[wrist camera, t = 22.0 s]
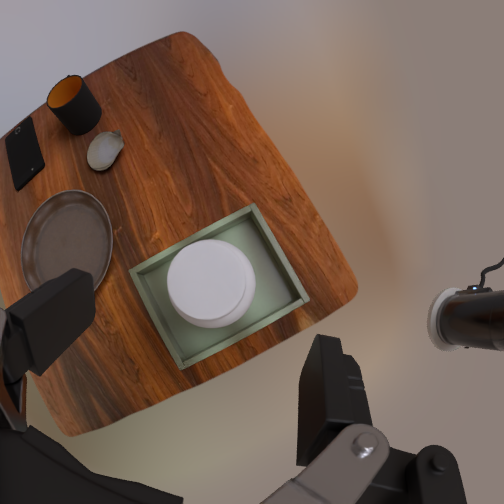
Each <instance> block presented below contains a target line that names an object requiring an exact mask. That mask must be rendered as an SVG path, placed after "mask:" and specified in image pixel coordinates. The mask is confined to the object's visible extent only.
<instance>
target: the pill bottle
mask: <svg viewBox="0 0 504 504" xmlns="http://www.w3.org/2000/svg"><path fill="white" fill-rule="evenodd" d="M167 287H168V294H169V298H170V301H171V303H172V305H173V307H174V308H175V310H176V311H177V312H178V314H179V315H180V316H181V317H183V318H184V319H185V320H186V321H188V322H189V323H191V324H193V325H196V326H199V327H203V328H220V327H224V326H227V325H230V324H232V323H234V322H235V321H237V320H238V319H240V318H241V317H242V316H243V315H244V314H245V313H246V312H247V310H248V309H249V307H250V305H251V303H252V301H253V298H254V294H255V288H256V279H255V273H254V270H253V267H252V265H251V263H250V261H249V260H248V258H247V257H246V256H245V254H244V253H243V252H242V251H241V250H239V249H238V248H237V247H235V246H234V245H232V244H230V243H227V242H225V241H221V240H214V239H208V240H201V241H198V242H195V243H193V244H190V245H188V246H186V247H185V248H183V249H182V250H181V251H180V252H179V253H178V254H177V255H176V256H175V257H174V259H173V261H172V262H171V264H170V267H169V270H168V275H167Z"/></svg>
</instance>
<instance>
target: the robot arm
mask: <svg viewBox="0 0 504 504" xmlns="http://www.w3.org/2000/svg"><path fill="white" fill-rule="evenodd" d="M503 264H504V258H503V259H502V261H501V262H500V263H498V264H497V265H494V266H491V267H487V268H485V269H484V270H483V271H482V272H481V282H480V284H479V285H472V286H468V288H467V290H461V291H456V292H455V294H454V295H450V296H448V297H447V298H445V299H444V300H443V302H442V303H441V305H440V307H439V309H438V312H437V316H436V329H437V333H438V336H439V338H440V339H441V340H442V341H443V342H444V343H446V344H448V345H459V346H466V347H465V348H469V347H474V348H482V349H490V350H499V351H504V290H501V291H492V289H491V288H490V287H487V288H483V286H484V282H485V274H486V273H487V272H489V271H492V270H496V269H498V268H500V267H501V266H502V265H503ZM94 317H95V297H94V281H93V276H92V274H91V273H88V272H85V271H82V270H79V269H77V268H72V269H70V270H68V271H67V272H65V273H64V274H62V275H61V276H59V277H57V278H54V279H51V280H48V281H46V282H45V283H43V284H42V285H40V286H39V288H36V289H34V290H33V291H31V293H28V294H27V295H26V296H24V297H23V298H21V299H20V300H18V301H17V302H15V303H14V304H13V305H11V306H10V307H8V308H7V309H6V310H3V309H2V308H0V504H183V497H179V496H176V495H173V494H170V493H167V492H164V491H160V490H158V489H155V488H152V487H149V486H146V485H144V484H141V483H138V482H133V481H127V480H122V479H117V478H112V477H108V476H104V475H100V474H96V473H93V472H91V471H90V470H88V469H87V468H86V467H85V466H83V464H81V463H80V462H79V461H78V460H77V459H76V458H74V457H73V456H72V455H71V454H70V453H69V452H68V451H67V450H66V449H65V448H64V447H63V446H62V445H61V444H59V443H58V442H56V441H54V440H53V439H51V438H50V437H48V436H46V435H45V434H43V433H42V432H40V431H38V430H37V429H36V428H34V427H33V426H31V425H30V426H29V427H27V422H26V389H27V377H26V374H25V372H27V371H28V370H30V371H32V372H33V373H35V374H37V375H38V376H41V375H42V374H43V373H44V372H45V371H46V370H47V369H48V368H49V366H50V365H51V364H52V363H53V362H54V361H55V360H56V359H57V358H58V357H59V356H60V355H61V354H62V353H63V352H64V351H65V350H66V349H67V348H68V347H69V346H70V345H71V344H72V343H73V342H74V341H75V340H76V339H77V338H78V337H79V336H80V335H81V334H82V333H83V332H84V331H85V330H86V329H87V328H88V327H89V326H90V325H91V324H92V322H93V320H94ZM364 388H365V387H364V383H363V381H362V375H361V370H360V367H359V365H358V364H357V362H356V361H355V360H354V358H353V357H352V356H351V355H346V354H343V351H342V346H341V341H340V339H339V338H336V337H331V336H326V335H320V334H317V335H316V337H315V338H314V341H313V343H312V346H311V349H310V351H309V354H308V356H307V359H306V361H305V364H304V366H303V369H302V372H301V376H300V381H299V401H298V402H299V403H298V405H299V406H298V438H297V460H296V465H297V466H306V468H305V469H304V470H303V471H302V472H301V473H300V474H298V475H297V476H296V477H295V478H293V479H292V478H291V479H290V480H288V481H287V482H286V483H284V484H283V485H282V486H281V487H280V488H278V489H277V490H276V491H275V492H274V493H272V494H271V495H270V496H269V497H268V498H266V499H265V500H264V501H262V502H261V503H260V504H467V502H466V497H465V492H464V488H463V484H462V480H461V476H460V472H459V468H458V464H457V461H456V459H455V457H454V456H453V454H452V453H451V452H450V451H448V450H447V449H446V448H444V447H442V446H438V445H430V446H427V447H425V448H423V449H422V450H421V451H420V452H419V453H418V454H417V455H416V454H412V453H408V452H404V451H401V450H397V449H394V448H392V447H390V446H389V442H388V440H387V438H386V437H385V435H384V434H383V433H382V432H381V431H379V430H378V429H377V428H375V427H373V425H372V420H371V415H370V410H369V406H368V401H367V397H366V392H365V390H364Z"/></svg>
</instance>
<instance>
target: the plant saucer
mask: <svg viewBox="0 0 504 504" xmlns="http://www.w3.org/2000/svg"><path fill="white" fill-rule="evenodd" d="M112 243H113V238H112V228H111V223H110V220H109V217H108V214H107V212H106V210H105V208H104V207H103V205H102V204H101V203H100V202H99V201H98V200H97V199H96V198H95V197H94V196H92V195H91V194H89V193H87V192H84V191H80V190H66V191H62V192H60V193H57V194H55V195H53V196H51V197H50V198H48V199H47V200H46V201H45V202H44V203H42V204H41V206H40V207H39V208H38V209H37V210H36V211H35V213H34V214H33V216H32V217H31V219H30V221H29V223H28V225H27V228H26V230H25V233H24V236H23V241H22V246H21V266H22V271H23V275H24V278H25V281H26V284H27V285H28V287H29V289H30V291H33V290H34V289H36V288H39V286H40V285H42V284H43V283H45V282H46V281H48V280H51V279H54V278H57V277H59V276H61V275H62V274H64V273H65V272H67V271H68V270H70V269H72V268H77V269H79V270H82V271H85V272H88V273H91V274H92V276H93V281H94V291H95V290H96V289H97V287H98V286H99V285H100V283H101V281H102V280H103V278H104V276H105V274H106V271H107V269H108V266H109V263H110V259H111V253H112Z"/></svg>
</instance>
